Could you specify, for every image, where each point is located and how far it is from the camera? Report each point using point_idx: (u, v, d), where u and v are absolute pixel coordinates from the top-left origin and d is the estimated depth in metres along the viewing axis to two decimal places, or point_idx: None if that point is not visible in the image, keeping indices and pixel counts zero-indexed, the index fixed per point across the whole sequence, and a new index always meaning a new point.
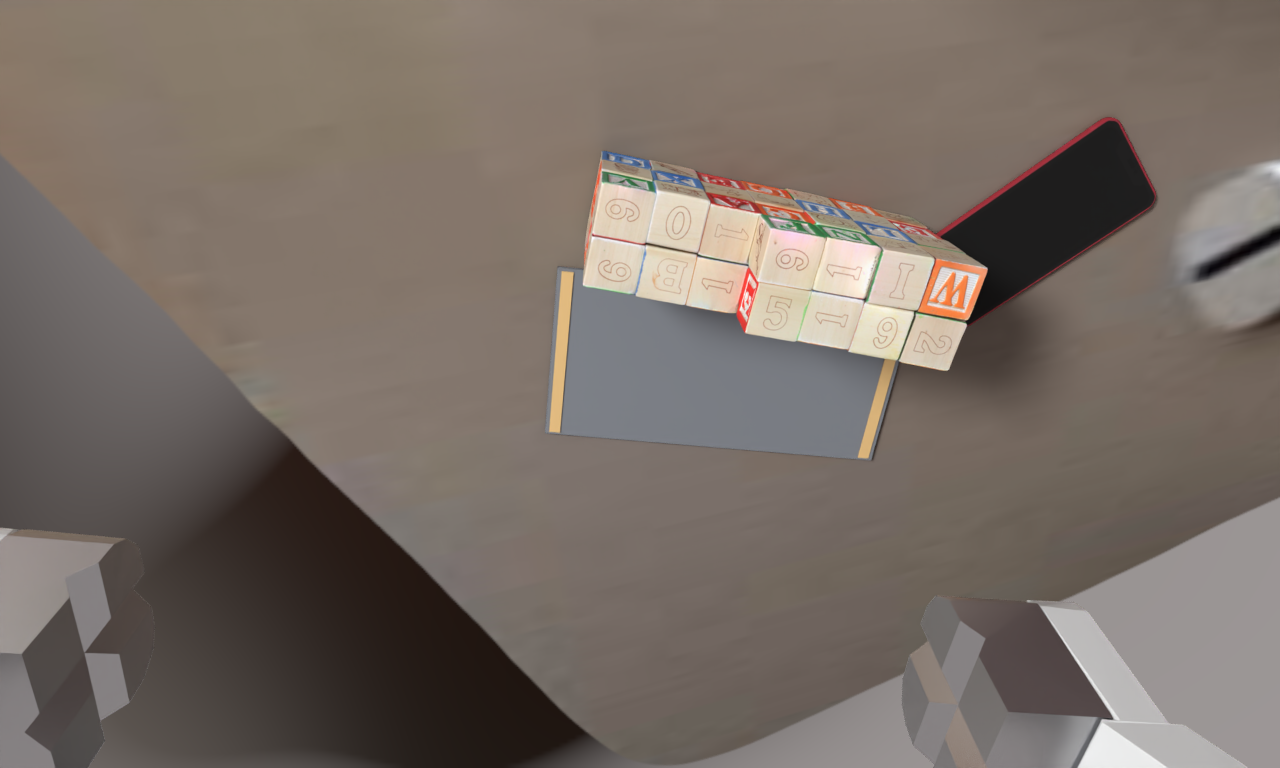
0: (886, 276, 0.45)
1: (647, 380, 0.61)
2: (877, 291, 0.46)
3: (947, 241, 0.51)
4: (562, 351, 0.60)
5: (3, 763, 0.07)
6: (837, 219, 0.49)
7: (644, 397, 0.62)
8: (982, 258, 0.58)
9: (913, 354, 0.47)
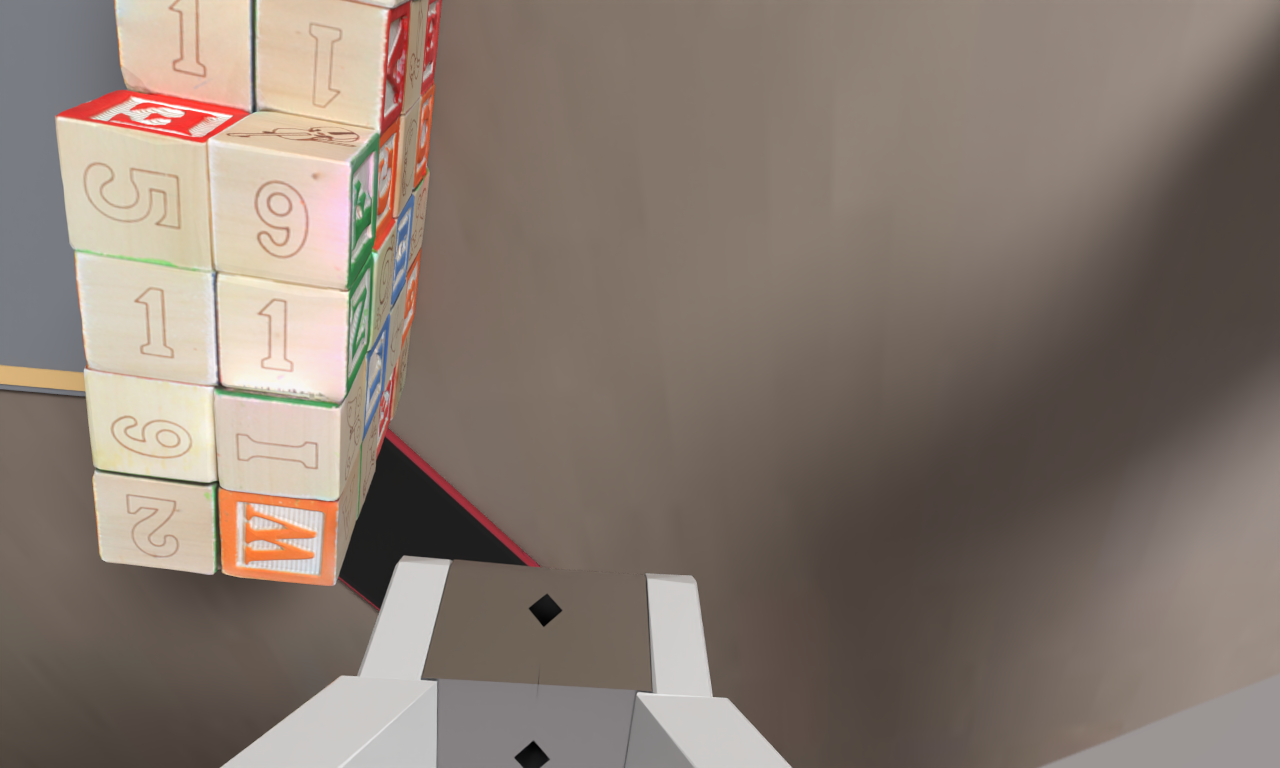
0: (282, 422, 0.21)
1: None
2: (244, 410, 0.21)
3: (374, 472, 0.29)
4: None
5: None
6: (388, 286, 0.25)
7: None
8: None
9: (118, 495, 0.22)
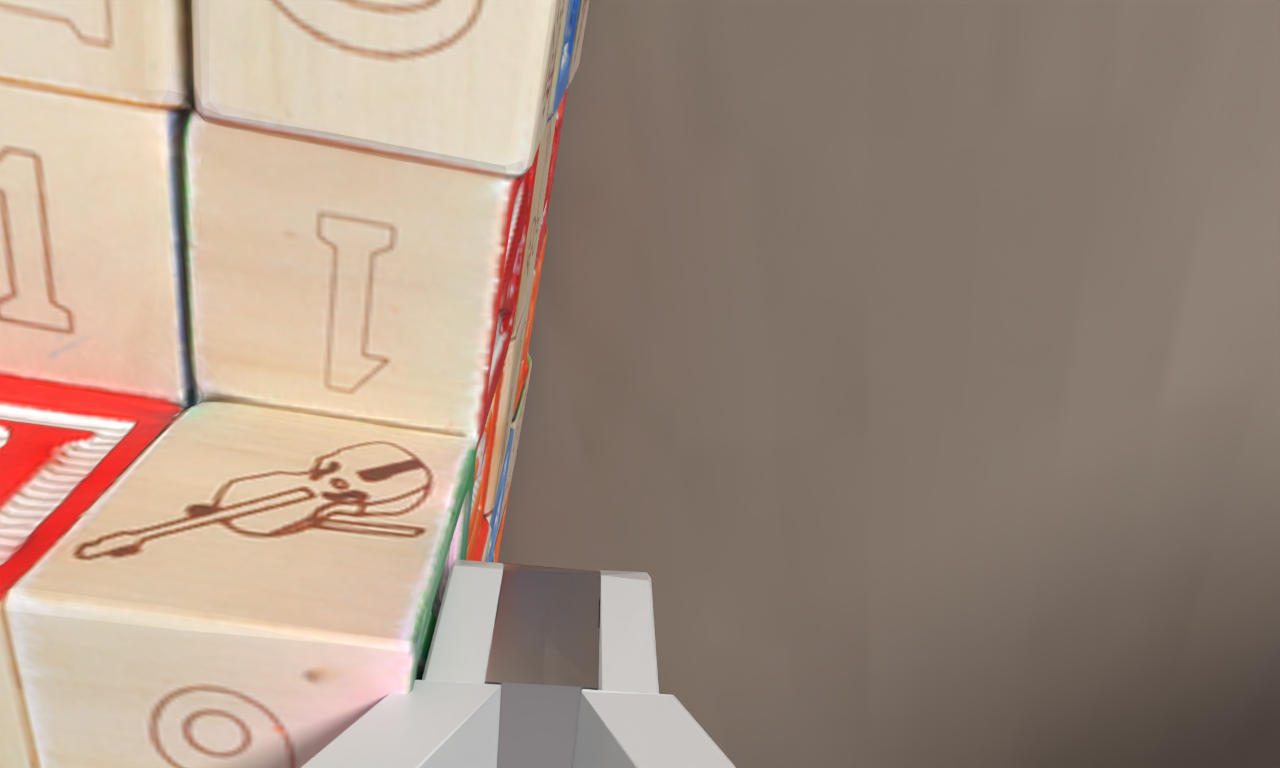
0: None
1: None
2: None
3: None
4: None
5: None
6: None
7: None
8: None
9: None
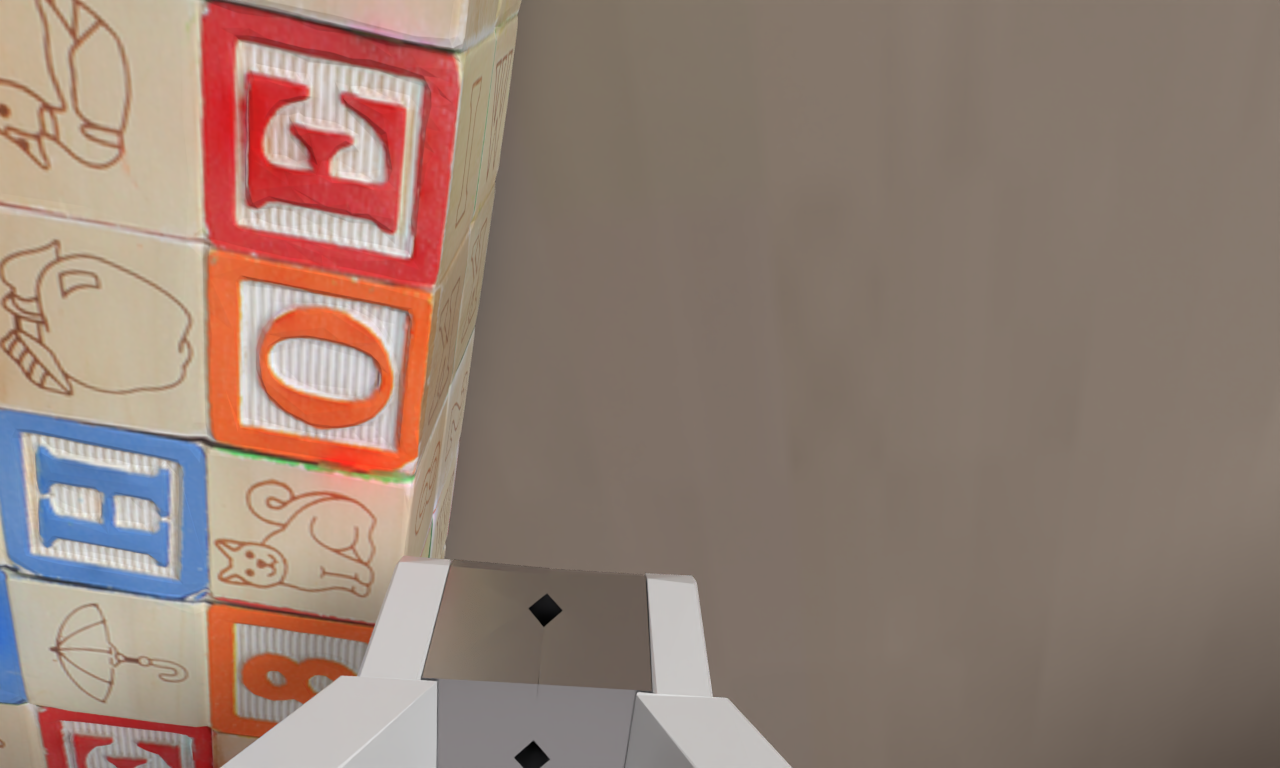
0: None
1: None
2: None
3: None
4: None
5: None
6: None
7: None
8: None
9: None
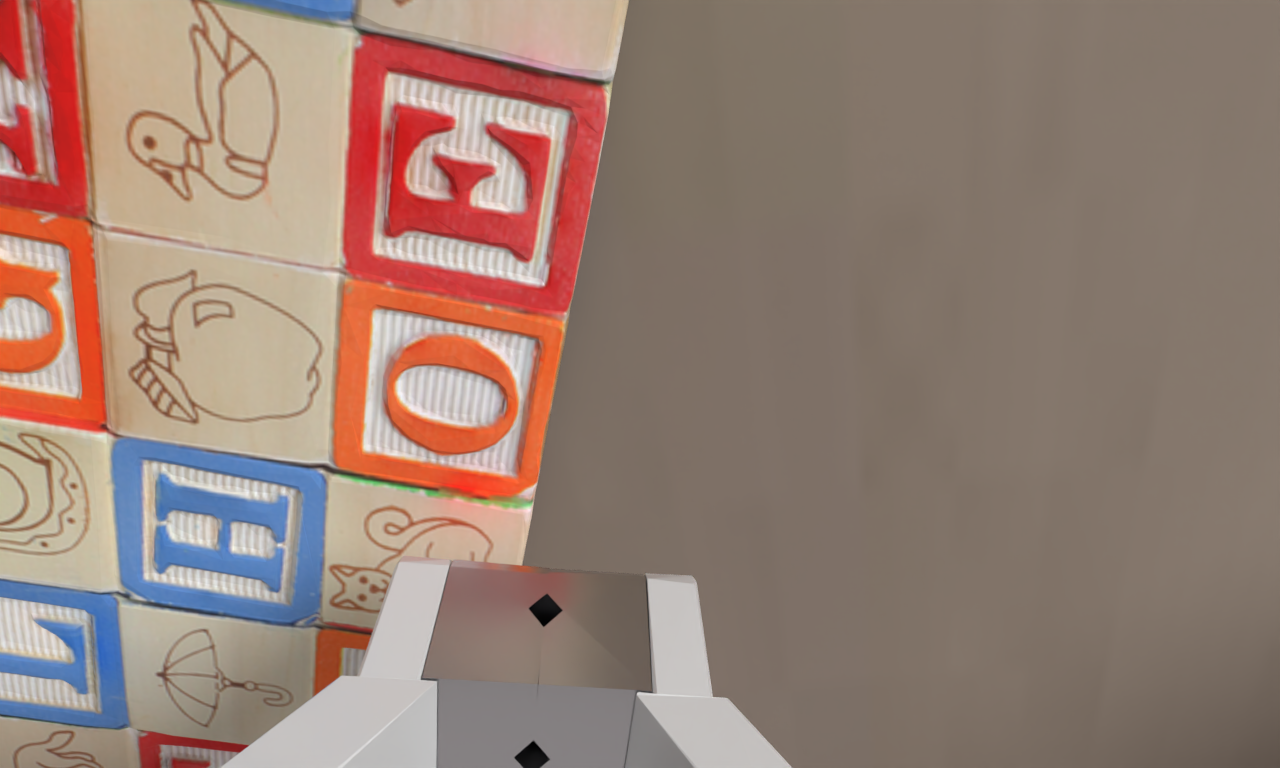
0: None
1: None
2: None
3: None
4: None
5: None
6: (44, 526, 0.12)
7: None
8: None
9: None
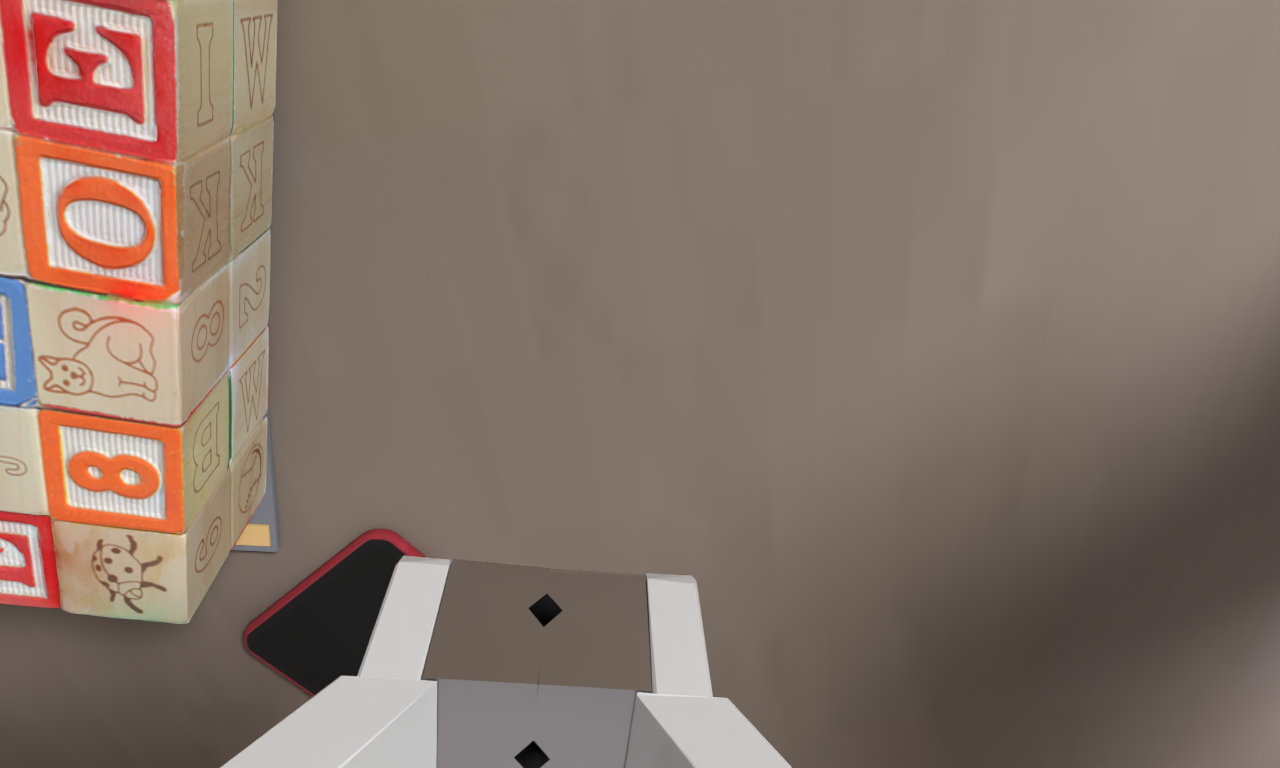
0: None
1: None
2: None
3: None
4: None
5: None
6: None
7: None
8: None
9: None
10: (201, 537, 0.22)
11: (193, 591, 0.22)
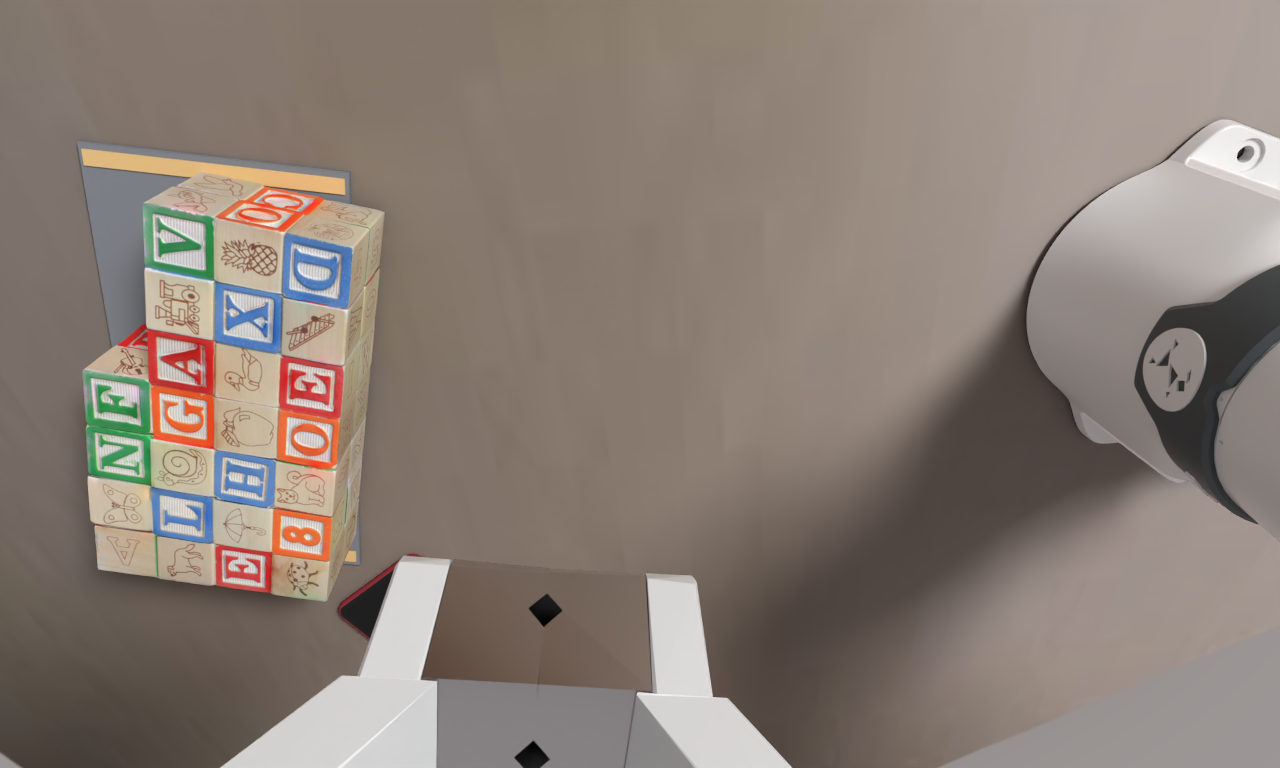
0: None
1: None
2: None
3: (204, 583, 0.46)
4: (222, 174, 0.42)
5: None
6: (193, 476, 0.43)
7: None
8: None
9: None
10: (333, 561, 0.47)
11: (329, 586, 0.47)
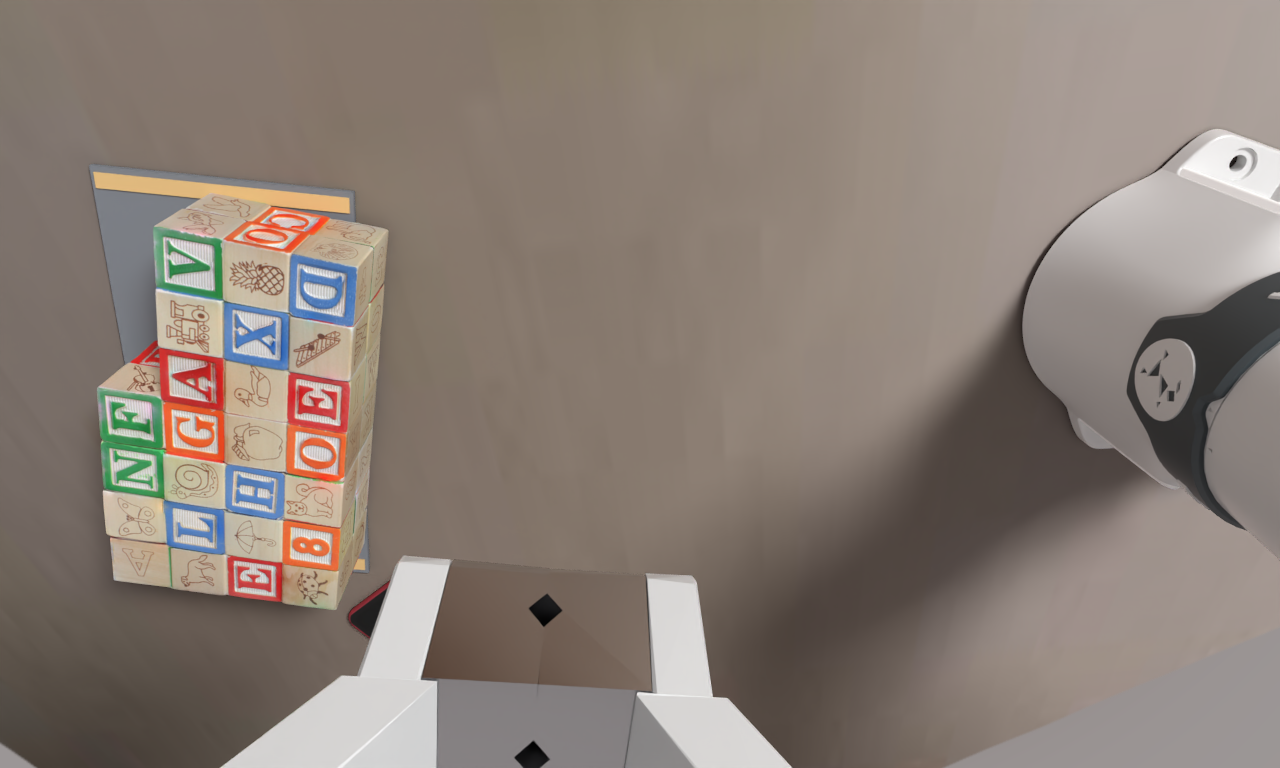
0: None
1: None
2: None
3: (217, 593, 0.47)
4: (230, 195, 0.43)
5: None
6: (205, 489, 0.44)
7: None
8: None
9: None
10: (342, 571, 0.48)
11: (338, 595, 0.48)
